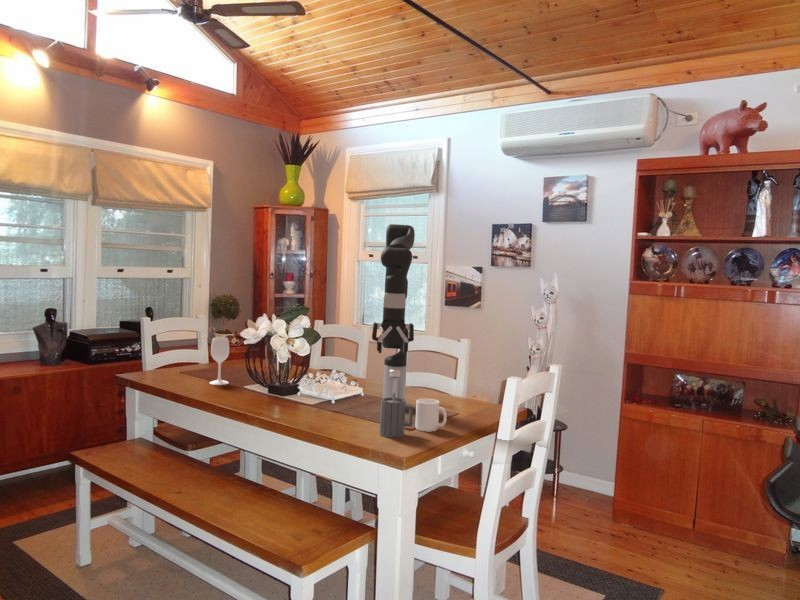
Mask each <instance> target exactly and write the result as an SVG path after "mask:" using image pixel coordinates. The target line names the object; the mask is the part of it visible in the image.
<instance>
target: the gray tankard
mask: <svg viewBox="0 0 800 600" xmlns="http://www.w3.org/2000/svg"><path fill="white" fill-rule="evenodd" d="M387 400H392V397H387V398H383V397H382V398H381V400H380V401H381V402H380V403H381V404H380V421H379V422H380V423H379V435H380V436H382V437H383V436H384V437H383V438H389V439H390V438H391V439H397V438H402V437H404V436H405V427H413V415H414V414H413V413H414V406H413V405H406V403H407V402H406V401H407V400H406V398H405V399H402V398H396V397H395V400H398V401H401V402H388V401H387ZM406 410H409V411H408V412H409V413H408V422H406Z"/></svg>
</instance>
